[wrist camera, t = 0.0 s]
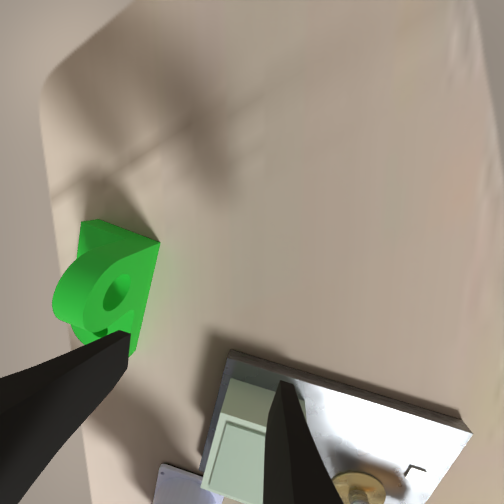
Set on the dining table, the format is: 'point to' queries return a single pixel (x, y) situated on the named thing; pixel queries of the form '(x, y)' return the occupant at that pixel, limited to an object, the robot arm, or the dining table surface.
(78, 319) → the mechanical part
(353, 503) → the t key
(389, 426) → the latch plate
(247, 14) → the dining table surface
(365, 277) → the dining table surface
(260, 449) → the cover
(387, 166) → the dining table surface
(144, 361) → the dining table surface
